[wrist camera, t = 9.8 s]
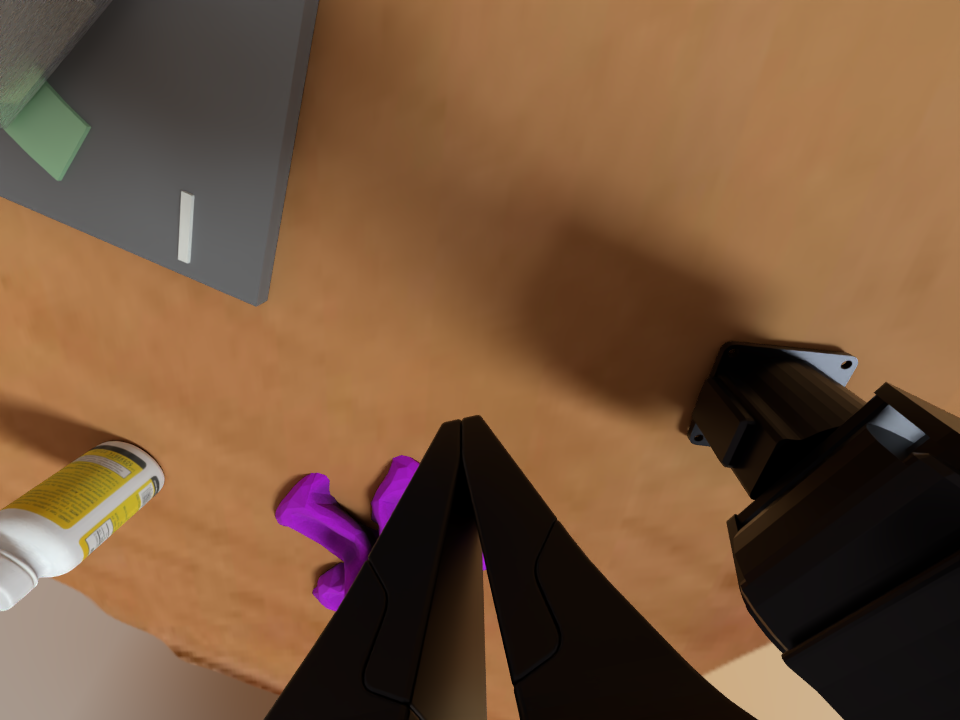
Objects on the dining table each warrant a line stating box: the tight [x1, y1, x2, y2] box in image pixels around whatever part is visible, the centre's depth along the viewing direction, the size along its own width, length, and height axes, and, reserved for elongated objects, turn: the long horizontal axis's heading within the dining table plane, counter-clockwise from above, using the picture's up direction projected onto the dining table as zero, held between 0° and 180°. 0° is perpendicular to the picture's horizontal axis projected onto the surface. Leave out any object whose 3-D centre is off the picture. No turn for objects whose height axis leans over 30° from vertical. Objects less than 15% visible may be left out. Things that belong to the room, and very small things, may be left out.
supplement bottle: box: [0, 441, 165, 611], centre depth 26 cm, size 5×5×10 cm
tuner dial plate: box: [0, 0, 319, 307], centre depth 16 cm, size 20×17×1 cm
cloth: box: [275, 455, 486, 611], centre depth 29 cm, size 22×19×6 cm
